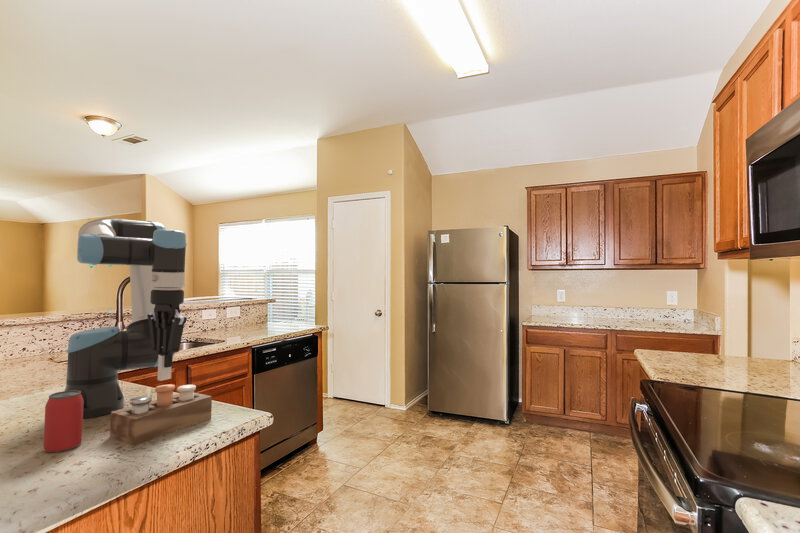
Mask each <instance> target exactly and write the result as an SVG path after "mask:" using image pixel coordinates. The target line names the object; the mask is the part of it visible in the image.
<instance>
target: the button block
mask: <svg viewBox="0 0 800 533" xmlns="http://www.w3.org/2000/svg"><path fill="white" fill-rule="evenodd" d="M212 402H213V397H212V396H211V395H208V394H204V393H197V392H194V398H193V399H190V400H186V401H181V400H179V393H176V394H173V405H169V406H166V407H162V408H160V407H156V406H157V399H154V400H152V401H151V402H150V406H149V412H145V413H142V414H138V415H134V414H132V405H130V406H129V407H124V408H121V409H119V410H116V411H113V412H111V413H110V424H109V426H110V427H109V438H111V439H114V440H117V441H121V442H123V443H126V444H129V445H132V446H138V445H140V444H143V443H146V442H148V441H149V442H150V441H151V440H155V439H156V438H160V437H163V436H165V435H168V434H172V433H174V432H177V431H179V429H180V430H183V429H185V428H188V427H191V426H193V425H194V426H195V425H196V424H200V423H202V422H204V421H207V420H210V419H212ZM182 428H183V429H182ZM176 430H177V431H176Z"/></svg>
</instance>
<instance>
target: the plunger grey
mask: <svg viewBox="0 0 800 533" xmlns="http://www.w3.org/2000/svg"><path fill="white" fill-rule="evenodd" d="M152 399H153V398H152V396H151V395H141V396H136V397H132V398H131V399H130V400H129V404H130V406H132V414H134V415H138V414H142V413H145V412H149V406H150V402H151V401H153V400H152Z"/></svg>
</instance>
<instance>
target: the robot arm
mask: <svg viewBox="0 0 800 533" xmlns="http://www.w3.org/2000/svg"><path fill="white" fill-rule="evenodd" d="M186 237H187V235H186V233H185V232H184V231H182V230H177V229H166V227H165V226H164V224H162V223H160V222H155V221H151V220H146V221H145V220H135V219H125V218H117V217H106V218H105V217H104V218H98V219H94V220H90V221H88V222H86V223H84V224H83V225H82V226H81V227H80V228H79V231H78V239H77V251H76V258H77V261H78V263H80V264H85V265H86V264H88V265H93V266H95V265H96V266H97V265H119V266H121V265H122V266H126V265H127V266H129V278H130V281H129V282H130V303H131V304H130V306H131V322H130V323H128V324H127V326H126V330H121V329H120V327H119V326H105V327H103V326H102V327H97V328H90V329H86V330H81V331H78V332H75V333H73V334H71V336H69V338H68V343H67V350H66V353H67V360H66V363H67V366H66V380H65V381H66V384H65V388H64V391H71V390H77V391H80V392H81V395H82V397H83V401H84V403H83V420H84V419H89V418H95V417H100V416H104V415H108V414H111V412H113V411H116V410H120V409H123V407H125V406H124V405H125V398H124V394H123V391H122V389H121V386H120V383H119V381H118V380H119V379H118V378H119V376H118V374H119V372H120V371H128V370H137V369H147V368H156V367H157V381H161V382H163V381H166V380H169V379H172V366H173V359H174V357H175V353H179V351H180V347H181V343H182V336H183V333H184V327H185V324H186V322H187V319H188V318H187V316H183V315H182V314H181V309H180V305H183V303H184V302H185V301H184V300H185V291H184V288H185V286H186V284H185V283H186V282H185V281H186V280H185V278H186V271H185V270H186V250H187V246H188V245H187V244H188V243H187V238H186Z"/></svg>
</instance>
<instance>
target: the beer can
mask: <svg viewBox="0 0 800 533" xmlns="http://www.w3.org/2000/svg"><path fill="white" fill-rule="evenodd" d="M45 403H46V404H45V406H44V424H43V426H44V427H43V429H44V430H43V445H42V446H43V447H42V448H43V450H44V452H46V453H61V452H62V453H63V452H66V451H69V450H73V449H75V448H76V447H79V446H80V445H81V444H82V442H83V426H84V425H83V422H84V419H83V403H84V401H83V397H82V395H81V392H80V391H77V390H71V391H65V390H63V391H58V392H55V393H52V394H50V395H49V396H48V399H47V401H46V402H45Z"/></svg>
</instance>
